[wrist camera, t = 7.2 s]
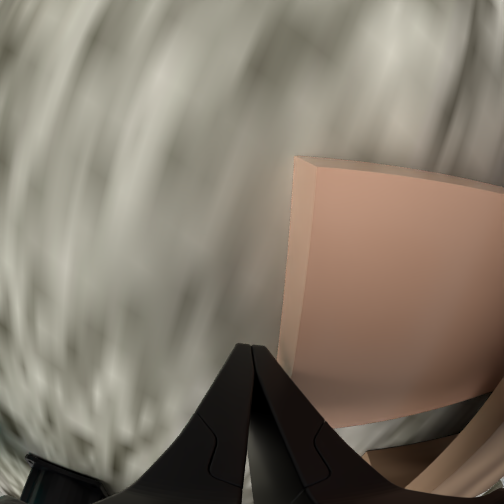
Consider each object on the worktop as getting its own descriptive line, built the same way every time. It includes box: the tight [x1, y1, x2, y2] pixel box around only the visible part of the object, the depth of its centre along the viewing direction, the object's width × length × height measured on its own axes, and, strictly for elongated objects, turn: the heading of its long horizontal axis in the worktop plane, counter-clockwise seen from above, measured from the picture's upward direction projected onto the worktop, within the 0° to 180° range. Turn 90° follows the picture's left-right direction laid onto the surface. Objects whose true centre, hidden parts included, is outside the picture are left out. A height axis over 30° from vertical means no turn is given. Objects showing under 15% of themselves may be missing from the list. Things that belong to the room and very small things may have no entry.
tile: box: [277, 156, 504, 429], centre depth 9 cm, size 15×8×3 cm, turn 88°
